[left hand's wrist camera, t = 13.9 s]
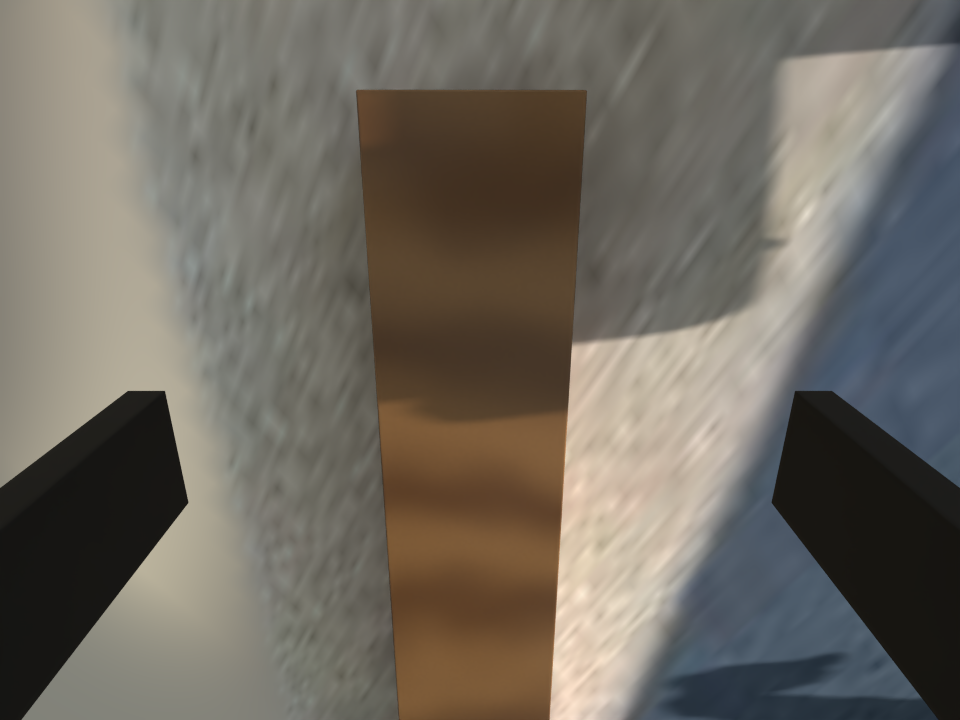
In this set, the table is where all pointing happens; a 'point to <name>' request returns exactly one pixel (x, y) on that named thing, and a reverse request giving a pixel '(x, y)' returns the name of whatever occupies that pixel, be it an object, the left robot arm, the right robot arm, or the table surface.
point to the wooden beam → (472, 382)
